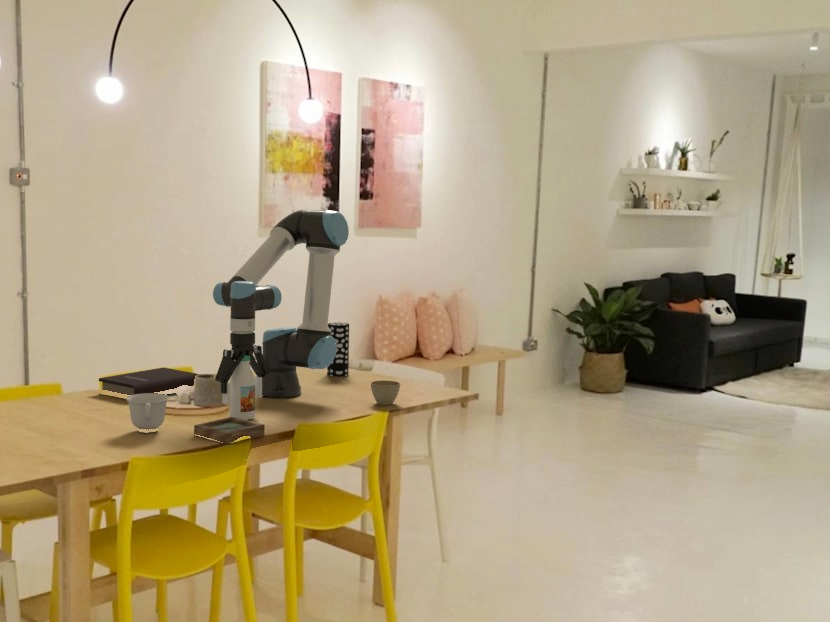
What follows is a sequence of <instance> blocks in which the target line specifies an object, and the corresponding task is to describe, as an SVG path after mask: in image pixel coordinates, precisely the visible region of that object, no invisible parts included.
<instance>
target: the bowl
mask: <svg viewBox="0 0 830 622" xmlns="http://www.w3.org/2000/svg"><path fill="white" fill-rule="evenodd" d="M400 387H401V382H399V381H394V380H385V379H384V380H374V381H371V382H370V389H371V393H372V396H373V398H374V399H375V402H376V403H377V404H378V405H380V406H391V404H392V405H393V404H394V403H395V400H396V399H397V396H398V395H399V392H400Z"/></svg>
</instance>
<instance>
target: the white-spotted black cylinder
mask: <svg viewBox="0 0 830 622" xmlns="http://www.w3.org/2000/svg"><path fill="white" fill-rule="evenodd" d="M328 327H329V328H330V330H331V336H332V337H333V338H334V339H335V341H336V344H337V351H336V355H335V358H334V360H333V361H332V363H331V364H330V365H329V366H328V367H327V368H326V370H327V371H326V375H327V376H329V377H332V378H333V377H335V378H336V377H337V378H338V377H347V376H349V367H350V366H349V361H350V360H349V359H350V358H349V355H350V352H349V351H350V323H349V322H328Z"/></svg>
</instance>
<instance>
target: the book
mask: <svg viewBox="0 0 830 622" xmlns="http://www.w3.org/2000/svg"><path fill="white" fill-rule="evenodd" d="M196 375H199V374H198V373H195V372H191V371H184V370H180V369H173V368H168V367H158V368H151V369H146V370H141V371H134V372H128V373H121V374H116V375H111V376H104V377H100V378H98V382H101V383H102V386H101V387H102V390H108V391H112V392H117V393H121V394H127V395H135V394H144V393H154V392H160V391H165V390H169V389H174V388H177V387H179V386H182V385H188V386H193V385H194V379H195V376H196Z"/></svg>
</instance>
